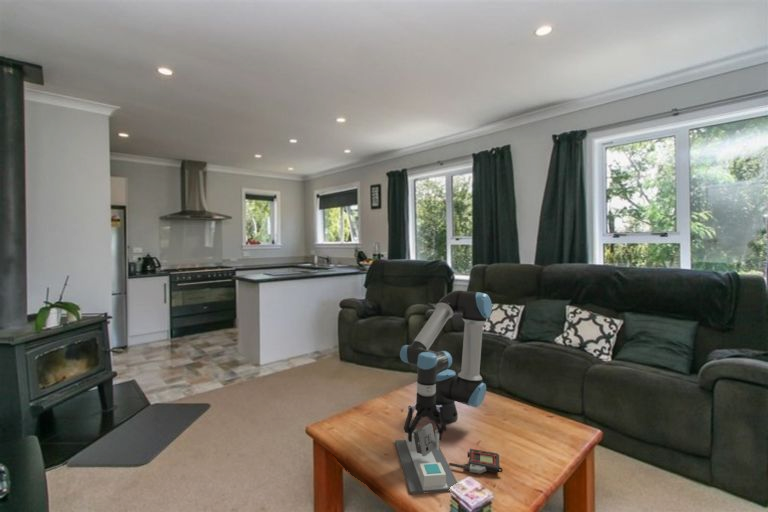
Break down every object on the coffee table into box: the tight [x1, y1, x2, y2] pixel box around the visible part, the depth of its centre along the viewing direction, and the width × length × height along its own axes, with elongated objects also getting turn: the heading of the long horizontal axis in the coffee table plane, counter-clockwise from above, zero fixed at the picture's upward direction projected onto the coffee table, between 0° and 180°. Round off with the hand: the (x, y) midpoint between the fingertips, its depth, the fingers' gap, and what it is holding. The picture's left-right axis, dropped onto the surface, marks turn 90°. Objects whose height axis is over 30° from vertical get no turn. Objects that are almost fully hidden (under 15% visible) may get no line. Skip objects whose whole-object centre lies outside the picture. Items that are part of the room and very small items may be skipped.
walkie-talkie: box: [448, 448, 503, 475], centre depth 139 cm, size 9×4×20 cm
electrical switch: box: [413, 422, 436, 456], centre depth 140 cm, size 9×5×9 cm, turn 141°
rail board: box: [394, 430, 458, 494], centre depth 140 cm, size 18×32×6 cm, turn 8°
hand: (424, 448), depth 140 cm, fingers closed on electrical switch, 9 cm apart
